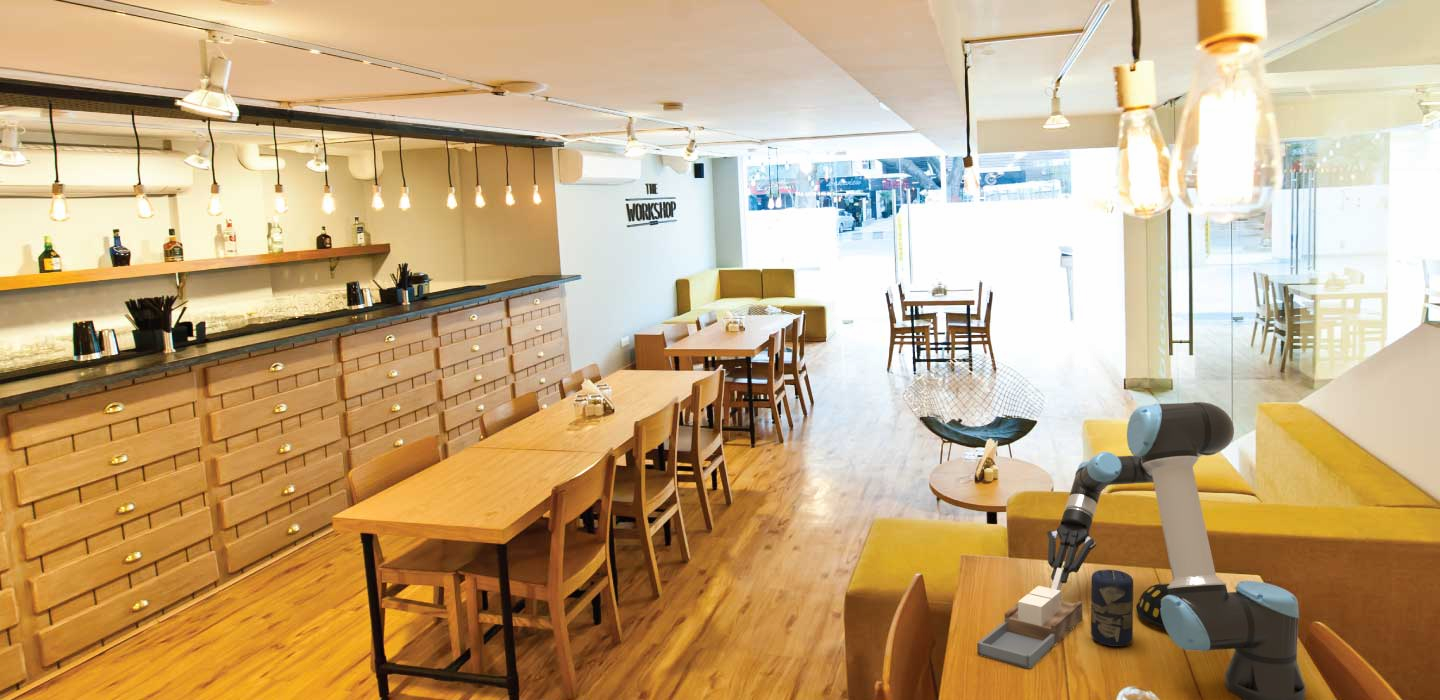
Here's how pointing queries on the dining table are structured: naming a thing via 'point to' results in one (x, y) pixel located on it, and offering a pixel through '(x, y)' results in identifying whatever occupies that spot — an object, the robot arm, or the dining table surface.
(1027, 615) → the block
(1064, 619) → the board
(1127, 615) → the canister
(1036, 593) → the block
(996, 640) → the tray
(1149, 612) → the yellow spotted black dome
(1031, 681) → the dining table surface
